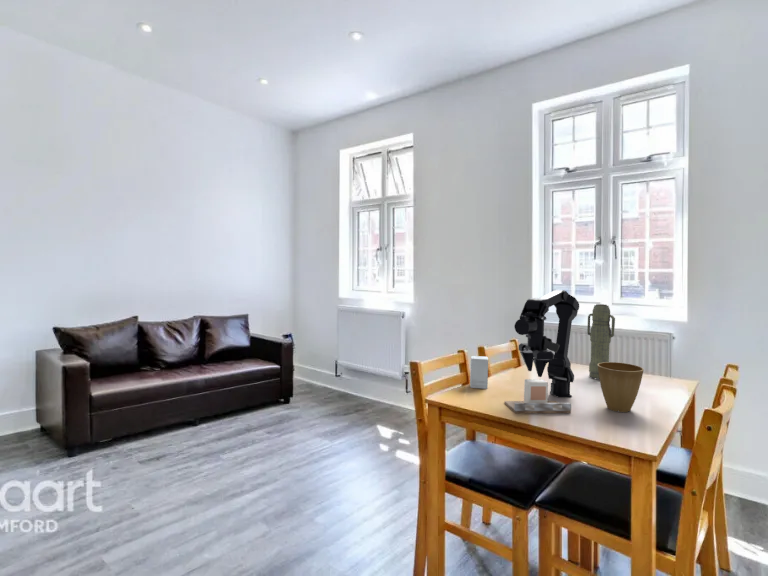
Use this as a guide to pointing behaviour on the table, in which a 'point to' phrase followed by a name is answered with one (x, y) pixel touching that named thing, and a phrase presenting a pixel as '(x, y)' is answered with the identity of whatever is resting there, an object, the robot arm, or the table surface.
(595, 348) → the thermos
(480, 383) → the supplement box
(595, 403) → the table surface
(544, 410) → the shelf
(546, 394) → the carton
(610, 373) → the plant pot
